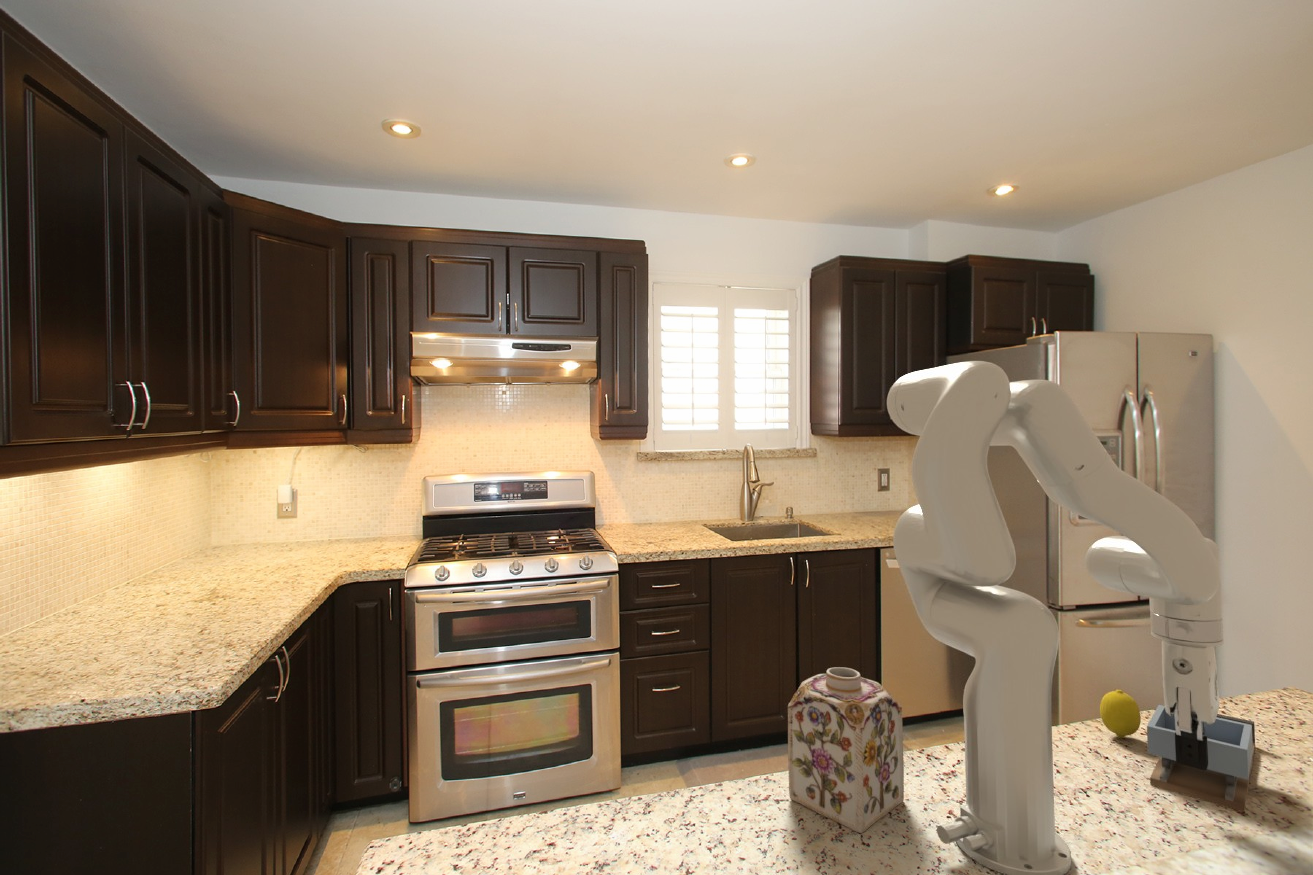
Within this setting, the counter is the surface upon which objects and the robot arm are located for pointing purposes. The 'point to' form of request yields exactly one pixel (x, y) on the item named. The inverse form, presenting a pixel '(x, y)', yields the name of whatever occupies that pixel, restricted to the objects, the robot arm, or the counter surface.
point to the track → (1204, 780)
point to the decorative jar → (845, 748)
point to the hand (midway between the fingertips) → (1192, 764)
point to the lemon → (1120, 713)
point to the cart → (1224, 742)
